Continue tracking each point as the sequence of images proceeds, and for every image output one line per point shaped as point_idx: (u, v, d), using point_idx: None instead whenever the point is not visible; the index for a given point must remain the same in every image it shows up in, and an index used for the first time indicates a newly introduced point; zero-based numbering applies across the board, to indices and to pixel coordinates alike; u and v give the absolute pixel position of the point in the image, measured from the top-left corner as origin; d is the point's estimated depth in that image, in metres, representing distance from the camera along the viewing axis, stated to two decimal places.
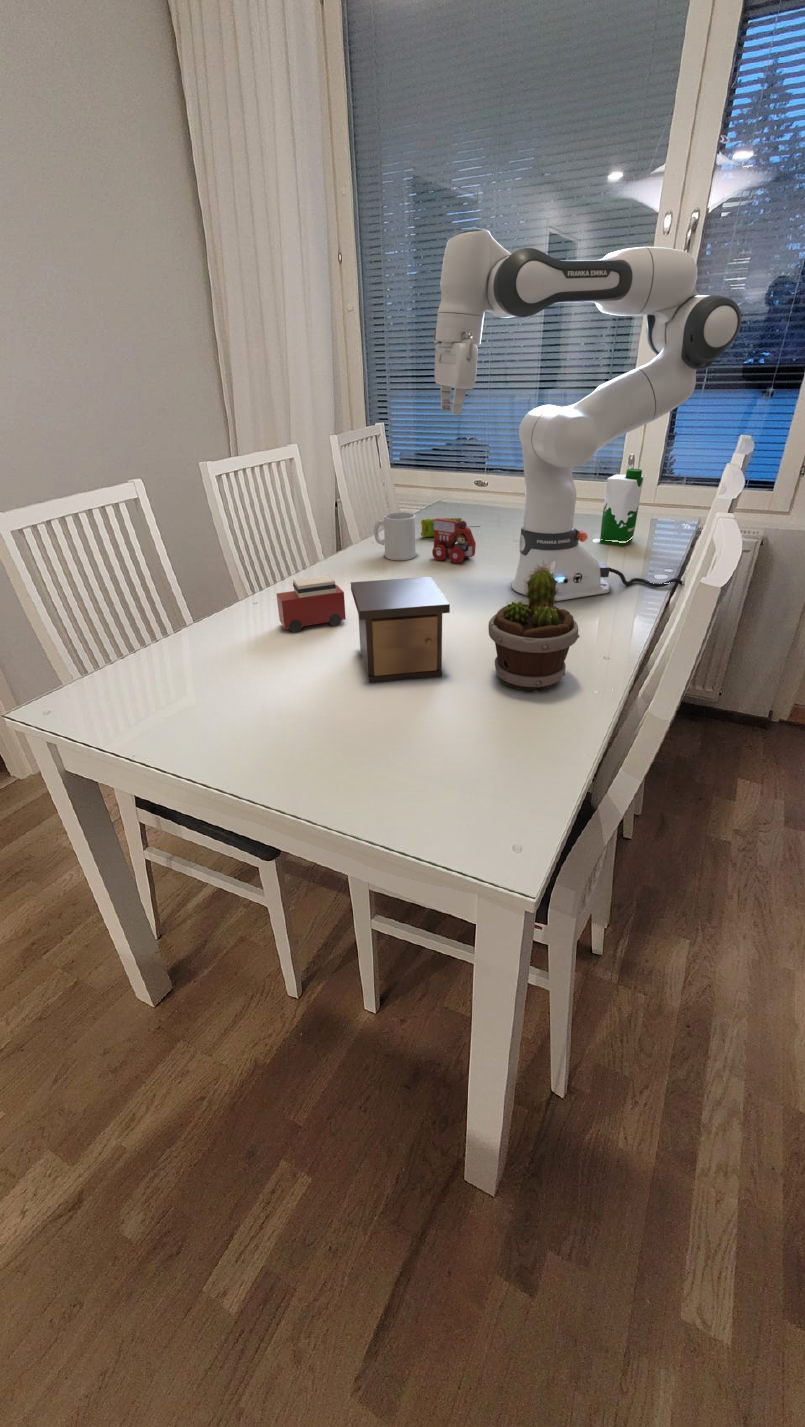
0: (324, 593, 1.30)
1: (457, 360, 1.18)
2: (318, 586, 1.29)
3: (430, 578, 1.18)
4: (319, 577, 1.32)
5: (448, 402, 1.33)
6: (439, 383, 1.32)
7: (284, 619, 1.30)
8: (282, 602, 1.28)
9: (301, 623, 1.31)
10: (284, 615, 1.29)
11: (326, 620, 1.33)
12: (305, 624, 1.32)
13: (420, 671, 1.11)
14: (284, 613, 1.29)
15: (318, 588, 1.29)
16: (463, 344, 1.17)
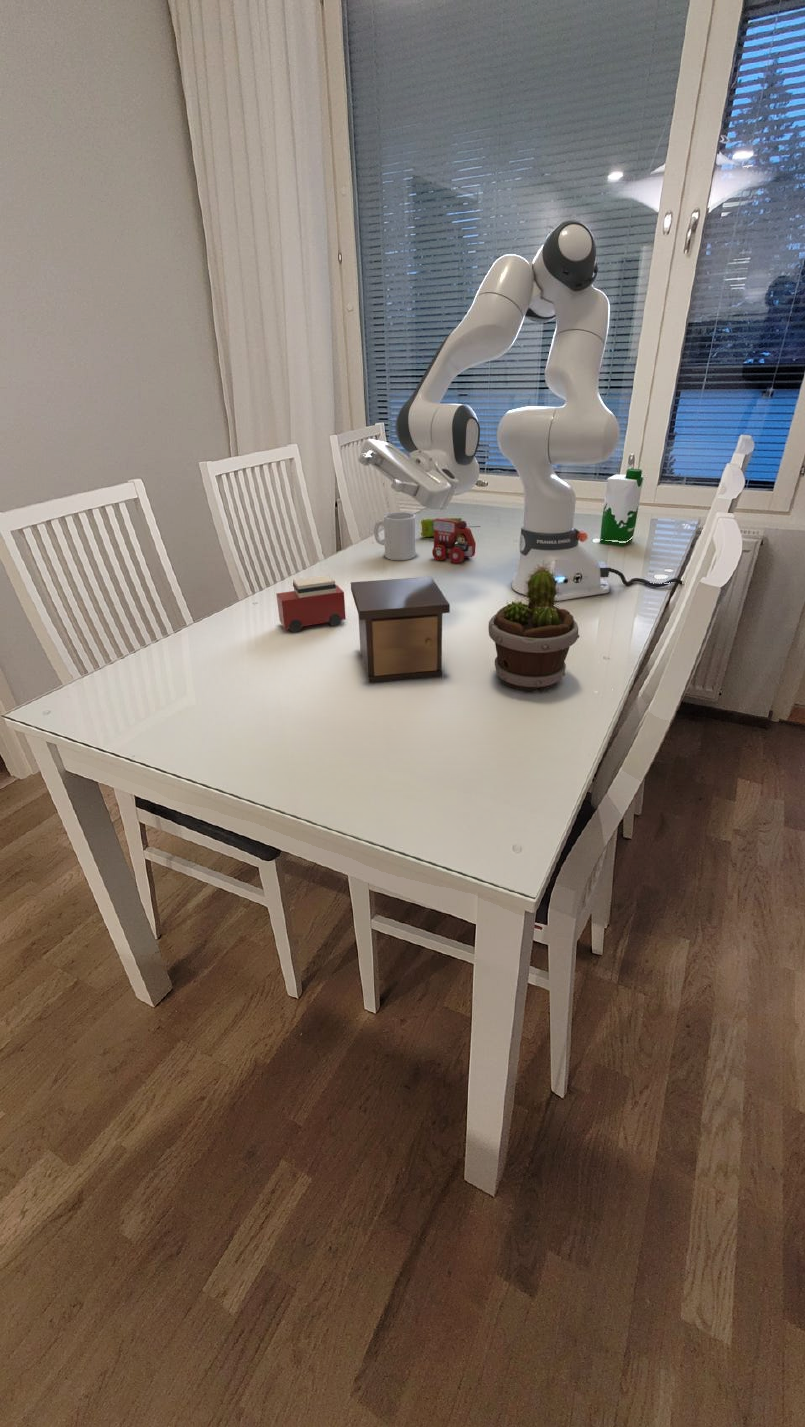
0: (324, 593, 1.30)
1: None
2: (318, 586, 1.29)
3: (430, 578, 1.18)
4: (319, 577, 1.32)
5: None
6: None
7: (284, 619, 1.30)
8: (282, 602, 1.28)
9: (301, 623, 1.31)
10: (284, 615, 1.29)
11: (326, 620, 1.33)
12: (305, 624, 1.32)
13: (420, 671, 1.11)
14: (284, 613, 1.29)
15: (318, 588, 1.29)
16: None
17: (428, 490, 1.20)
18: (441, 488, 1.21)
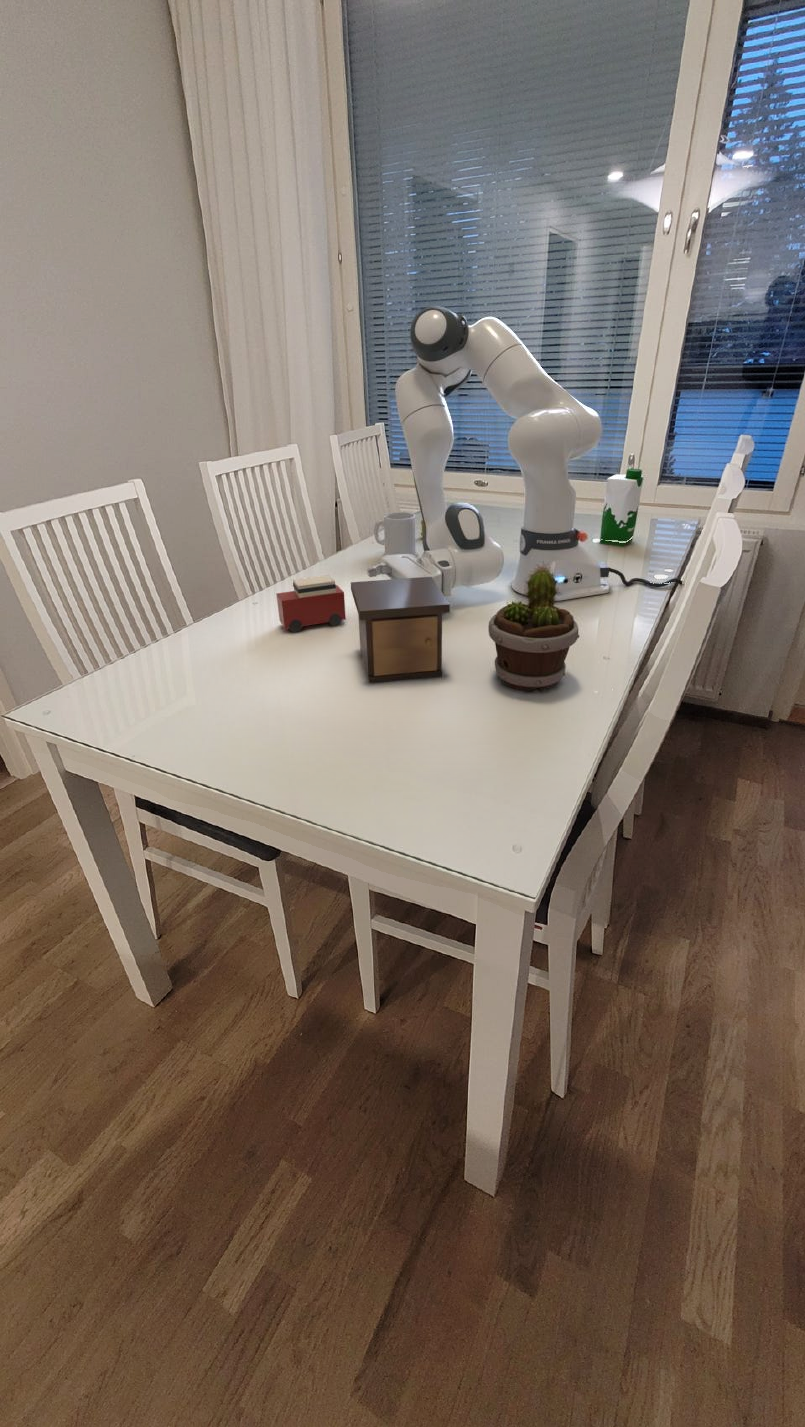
0: (324, 593, 1.30)
1: None
2: (318, 586, 1.29)
3: (430, 578, 1.18)
4: (319, 577, 1.32)
5: None
6: None
7: (284, 619, 1.30)
8: (282, 602, 1.28)
9: (301, 623, 1.31)
10: (284, 615, 1.29)
11: (326, 620, 1.33)
12: (305, 624, 1.32)
13: (420, 671, 1.11)
14: (284, 613, 1.29)
15: (318, 588, 1.29)
16: None
17: None
18: None
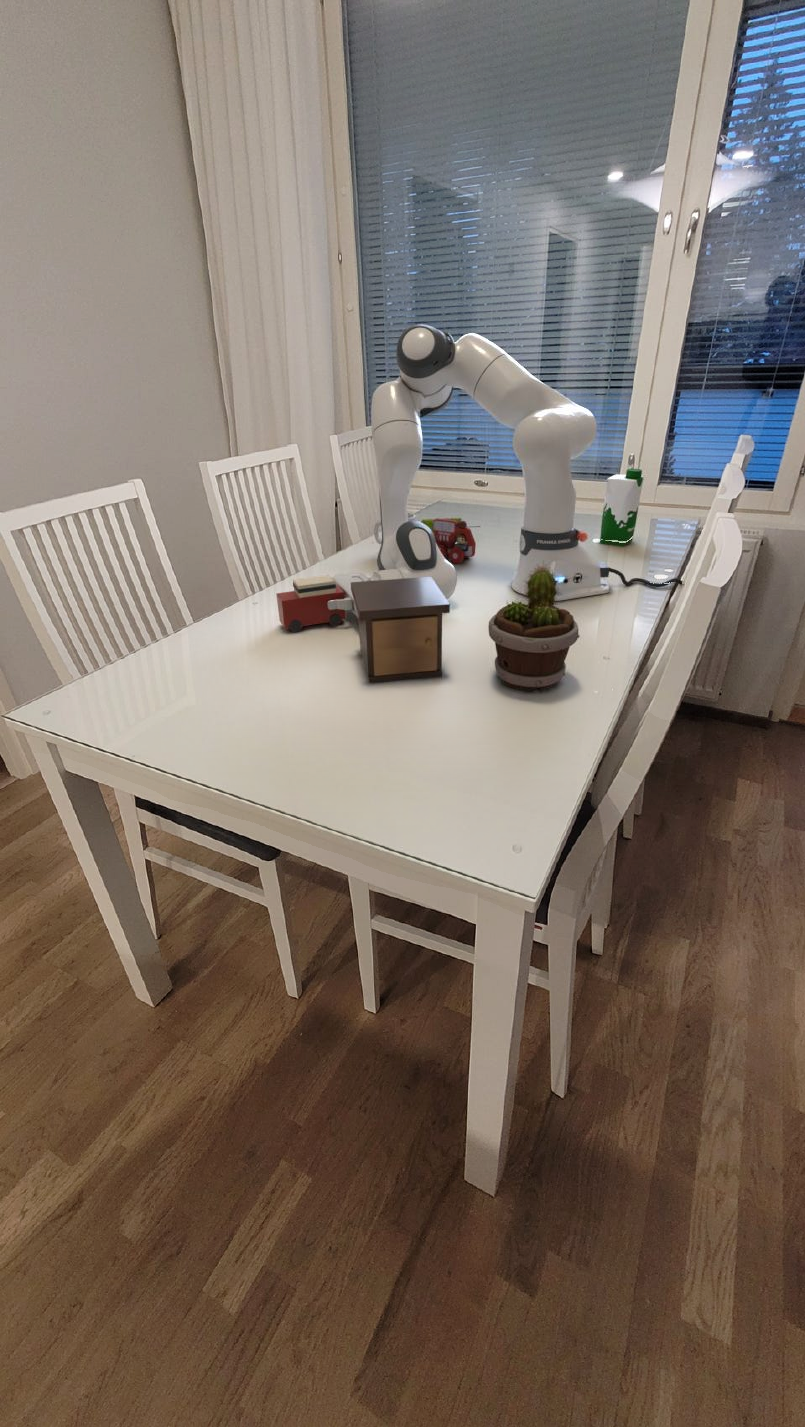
0: (324, 593, 1.30)
1: None
2: (318, 586, 1.29)
3: (430, 578, 1.18)
4: (319, 577, 1.32)
5: None
6: (353, 612, 1.31)
7: (284, 619, 1.30)
8: (282, 602, 1.28)
9: (301, 623, 1.31)
10: (284, 615, 1.29)
11: (326, 620, 1.33)
12: (305, 624, 1.32)
13: (420, 671, 1.11)
14: (284, 613, 1.29)
15: (318, 588, 1.29)
16: None
17: None
18: None
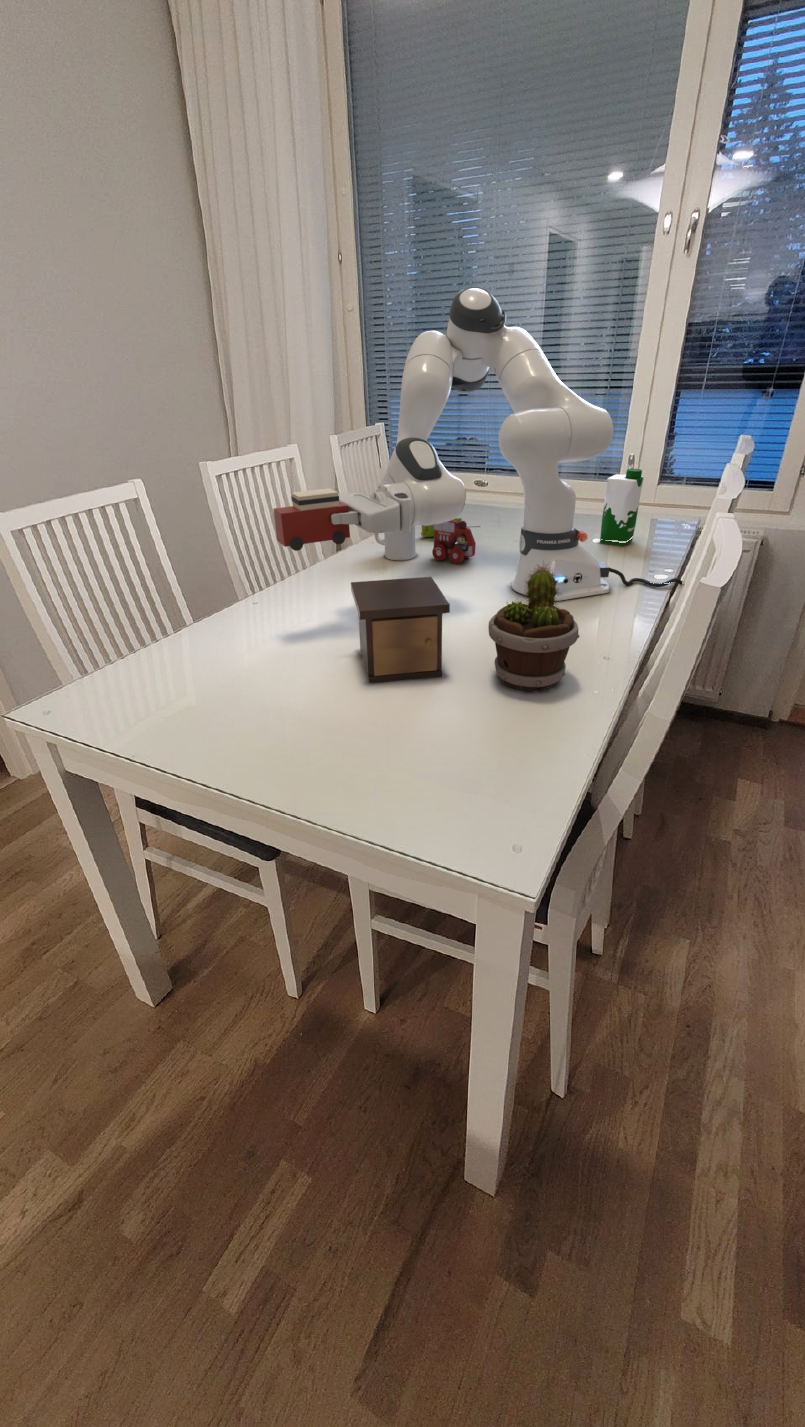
0: (327, 506, 1.19)
1: None
2: (321, 497, 1.17)
3: (430, 578, 1.18)
4: (320, 490, 1.20)
5: None
6: None
7: (284, 535, 1.17)
8: (281, 515, 1.15)
9: (302, 540, 1.19)
10: (284, 530, 1.17)
11: (329, 538, 1.21)
12: (307, 542, 1.20)
13: (420, 671, 1.11)
14: (284, 528, 1.17)
15: (320, 500, 1.18)
16: None
17: (365, 514, 1.16)
18: (382, 509, 1.16)
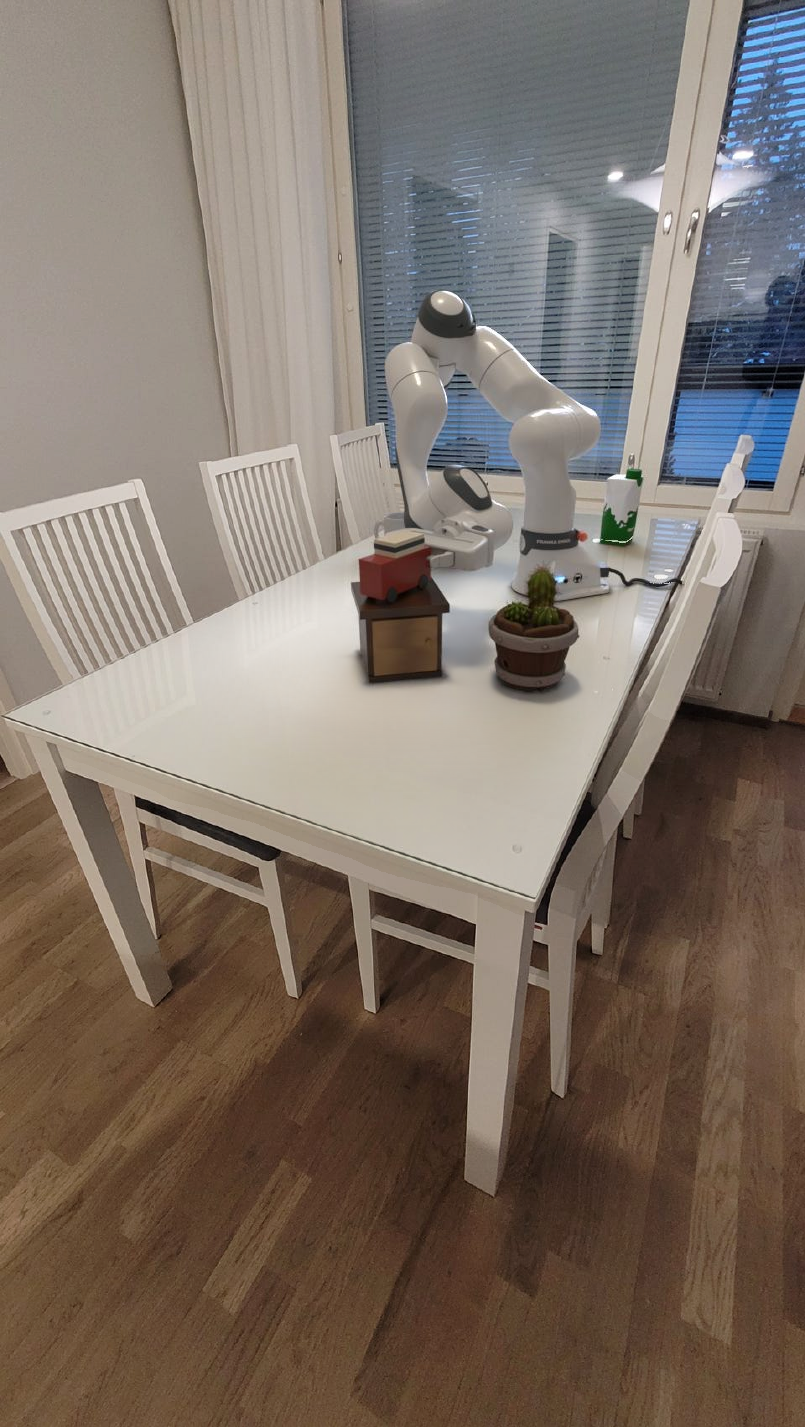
0: (415, 550, 1.08)
1: None
2: (410, 541, 1.07)
3: None
4: (400, 533, 1.09)
5: None
6: (448, 566, 1.11)
7: (382, 588, 1.04)
8: (381, 566, 1.02)
9: (396, 590, 1.07)
10: (382, 582, 1.04)
11: (416, 583, 1.11)
12: (399, 591, 1.08)
13: (420, 671, 1.11)
14: (383, 580, 1.04)
15: (411, 544, 1.07)
16: None
17: (466, 553, 1.08)
18: (478, 544, 1.09)
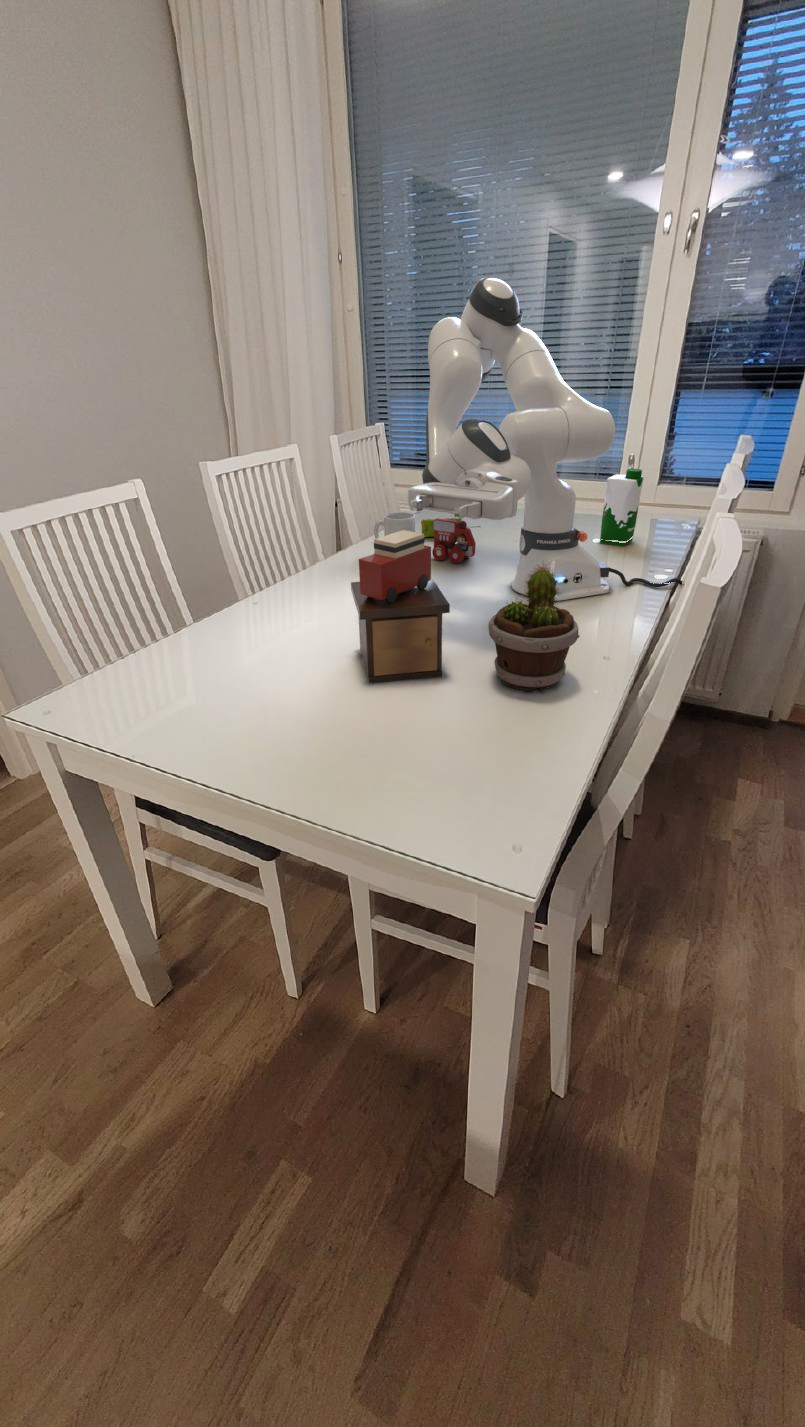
0: (415, 550, 1.08)
1: None
2: (410, 541, 1.07)
3: None
4: (400, 533, 1.09)
5: None
6: (475, 516, 1.13)
7: (382, 588, 1.04)
8: (381, 566, 1.02)
9: (396, 590, 1.07)
10: (382, 582, 1.04)
11: (416, 583, 1.11)
12: (399, 591, 1.08)
13: (420, 671, 1.11)
14: (383, 580, 1.04)
15: (411, 544, 1.07)
16: None
17: (493, 501, 1.09)
18: (505, 493, 1.11)
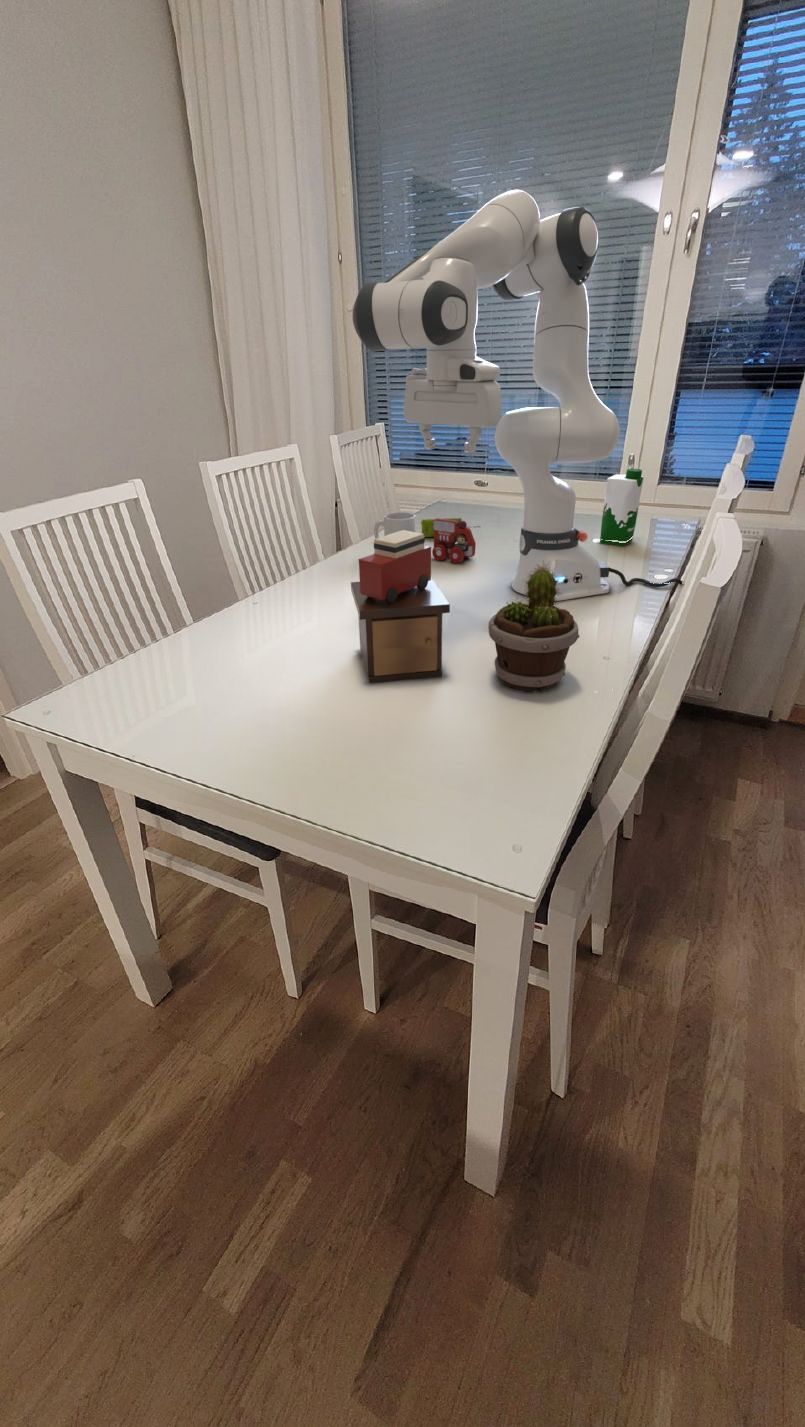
0: (415, 550, 1.08)
1: None
2: (410, 541, 1.07)
3: None
4: (400, 533, 1.09)
5: None
6: None
7: (382, 588, 1.04)
8: (381, 566, 1.02)
9: (396, 590, 1.07)
10: (382, 582, 1.04)
11: (416, 583, 1.11)
12: (399, 591, 1.08)
13: (420, 671, 1.11)
14: (383, 580, 1.04)
15: (411, 544, 1.07)
16: None
17: (486, 427, 1.14)
18: (486, 408, 1.12)
